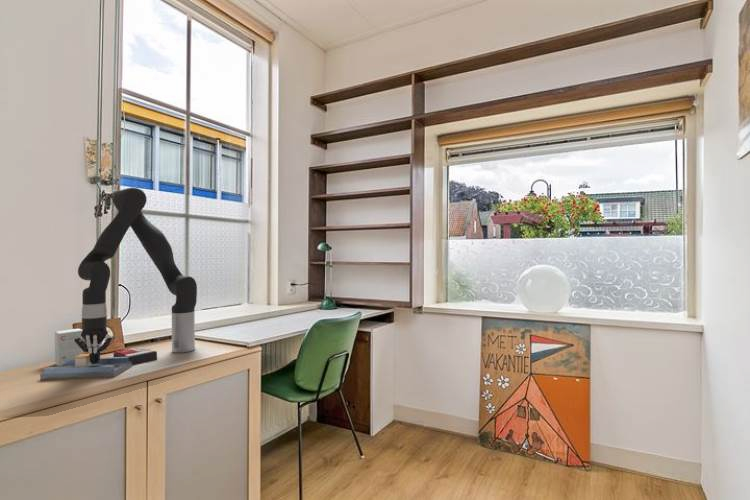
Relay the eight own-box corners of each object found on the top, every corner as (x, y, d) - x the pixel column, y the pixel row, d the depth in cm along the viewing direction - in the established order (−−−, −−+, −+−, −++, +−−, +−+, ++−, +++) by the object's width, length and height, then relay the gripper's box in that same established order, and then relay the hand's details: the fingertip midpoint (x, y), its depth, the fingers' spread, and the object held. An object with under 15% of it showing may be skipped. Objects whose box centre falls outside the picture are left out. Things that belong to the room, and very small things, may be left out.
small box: (79, 359, 163) (79, 327, 163) (84, 362, 159) (83, 330, 159) (54, 364, 157) (54, 331, 157) (58, 367, 153) (58, 333, 153)
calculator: (141, 345, 172) (157, 349, 163) (142, 355, 172) (157, 360, 163) (112, 351, 164) (127, 355, 155) (113, 361, 164) (127, 366, 154)
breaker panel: (65, 368, 151) (65, 358, 151) (132, 366, 154) (132, 356, 154) (40, 380, 138) (40, 369, 138) (114, 377, 141) (113, 366, 141)
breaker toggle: (81, 365, 147) (81, 354, 147) (91, 365, 148) (91, 354, 148) (75, 368, 144) (74, 357, 144) (85, 368, 144) (85, 356, 144)
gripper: (119, 313, 150) (119, 359, 150) (81, 314, 149) (81, 360, 149) (108, 317, 143) (108, 365, 143) (68, 318, 141) (68, 366, 141)
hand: (94, 362), depth 146 cm, fingers closed
